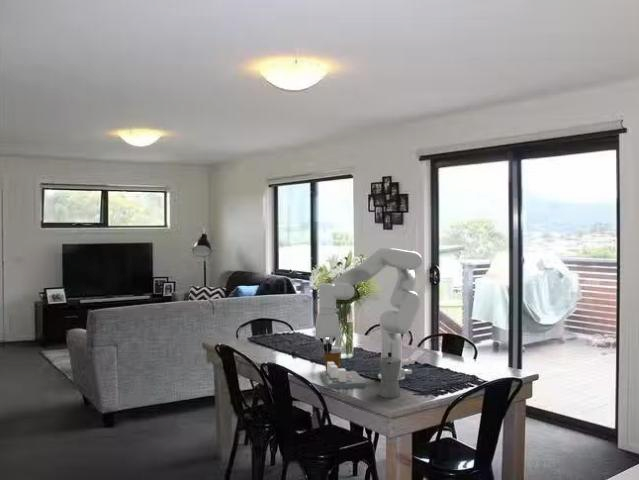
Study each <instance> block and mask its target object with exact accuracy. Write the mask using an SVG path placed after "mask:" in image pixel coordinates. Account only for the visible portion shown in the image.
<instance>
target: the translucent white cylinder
mask: <svg viewBox="0 0 639 480" xmlns="http://www.w3.org/2000/svg"><path fill="white" fill-rule="evenodd" d="M424 353H425V351H423V350H419V349H416V350H414V351H413V353H411V355H410V356H408V357H407V358H402V367H405V366H404V365H407V366H410V365H409V364H412V365H415V362H416V361H417V360H418V359H419V358H420V357H421V356H422V355H424Z"/></svg>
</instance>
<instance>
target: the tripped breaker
mask: <svg viewBox="0 0 639 480" xmlns="http://www.w3.org/2000/svg"><path fill="white" fill-rule="evenodd" d="M346 371H347V370H346V368H340V367H339V369H338V381H339V382H346Z"/></svg>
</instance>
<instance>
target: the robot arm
mask: <svg viewBox="0 0 639 480" xmlns="http://www.w3.org/2000/svg"><path fill="white" fill-rule="evenodd" d="M422 265H423V257H422V256H421V254H420V253H418V252H416V251H410V250H404V249H399V248H393V247H382V248H379V249H377V250H376V251H374V252H373V253H372V254H371V255H369V256H368V257H367V258H366V259H364V260H363V261H362V262H361V263H360V264H359V265H356V266H354V267H352V268H350V269H349V270H347V271H345V272H343V273H342V274H340V275H339V276H337V277H336V278H335V279H334V280H333V281H332V282H331V283H330V282H326V283H325V282H323V283H320V284H319V287H318V314H316V320H315V337H314V339H315V340H316V341H320V342H321V343H323V348H324V351H325V353H327V346H328V353H330V351H332V345H333V343H334V342H335V341H337V340H340V339H341V337H340V322H339V314H337V313H338V312H340V308H337V300H344V301H346V300H350V299H352V298H353V297H354V295H355V292H356V291H355V287H354V285H357V284H360V283H364V282H365V283H366V282H368V281H370V280H372V279H374V277H376V276H377V275H379V274H380V272H382V271H383V270H384V269H386V267H388V268H389V267H390V268H396V272H397V279H396V283H395V285H394V287H393V290H392V293H391V295H390V299H389V303H390V305H391V307H393V308H394V309H397V310H398V311H396V310H392V309H389V310H385V311H383V312H382V313H381V315H380V316H379V328H380V335H381V336H380V337H381V338H380V339H381V340H380V341H381V347H380V348H381V350H380V353H381V354H380V356H381V357H380V358H383V357H388V353H389V352H390V353H392V354H391V355H392V357H395V358H399V359H400V360H401V363H400V370H399V375H398V381H404V380H405V379H406V375H412V374H413V370H412V369H407V368H406V369H404V368H403V366H402V359H403V339H402V335H406V334H407V333H409V332H410V331H411V329H412V327H413V325H414V322H415V320H416V317H417V314H418V312H419V309H420V307H421V306H420V305H421V300H420V299H421V298H420V296H419V294H418V293H417V292H415V291H414V287H415V284H416V277H417V276H416V272H415V271H417V270H419V269H420V268H421V267H422ZM327 338H328V342H327ZM377 378H378V379H379V380H381V379H382V375H381V373H379V374H377Z"/></svg>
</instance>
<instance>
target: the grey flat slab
mask: <svg viewBox="0 0 639 480" xmlns="http://www.w3.org/2000/svg"><path fill="white" fill-rule="evenodd" d="M319 376H320V377H319V378H321V380H322V382H323V384H324V385H325V386H326V389H328V390H333V389H337V390H338V389H359V388H366V387H367V383H366V381H365V380H364V379H363V378H362V376H360V374H359V373H358V372H357V371H356V370H348V371H347V370H346V382H339V381H338V378H331V377H330V375H329V374H328V373H327V372H326V371H322V372H321V371H320V372H319Z"/></svg>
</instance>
